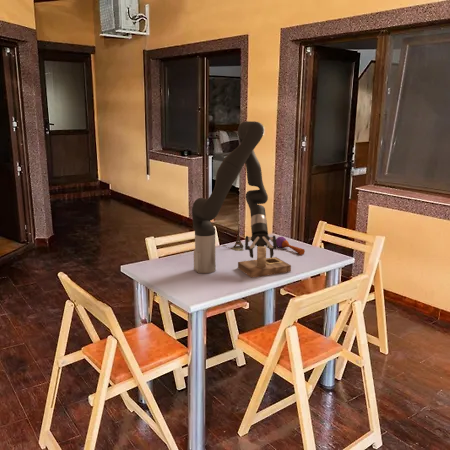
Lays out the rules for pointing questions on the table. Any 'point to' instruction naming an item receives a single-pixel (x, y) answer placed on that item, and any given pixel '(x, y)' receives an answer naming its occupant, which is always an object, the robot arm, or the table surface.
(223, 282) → the table surface
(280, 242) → the maraca
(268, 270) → the pin board
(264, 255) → the pin
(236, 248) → the eiffel tower figurine
